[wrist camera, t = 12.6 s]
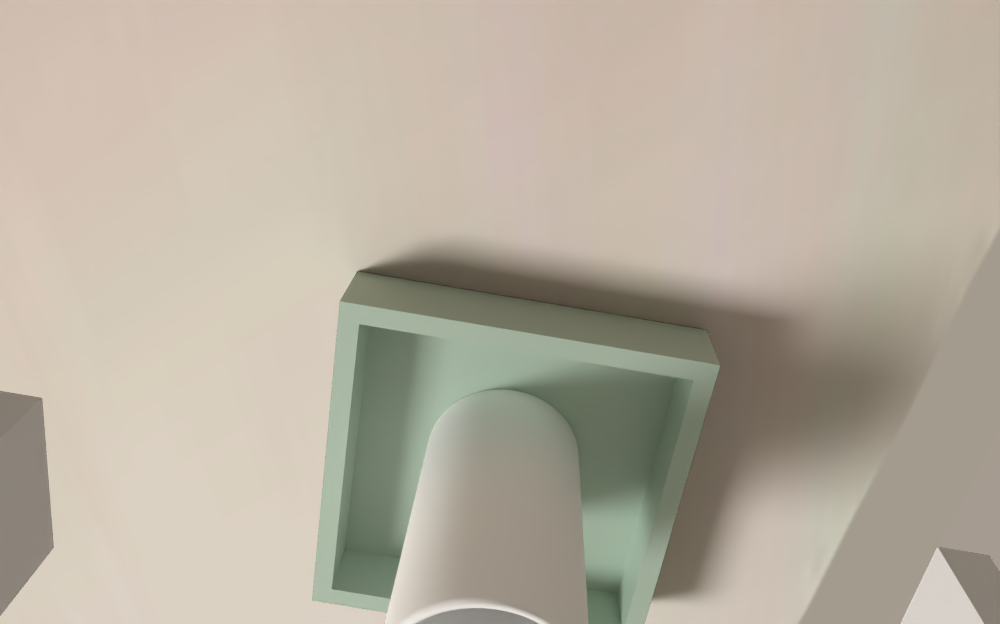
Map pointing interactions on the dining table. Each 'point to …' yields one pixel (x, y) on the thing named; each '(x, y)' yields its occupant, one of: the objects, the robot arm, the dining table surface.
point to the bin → (520, 367)
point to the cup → (495, 519)
